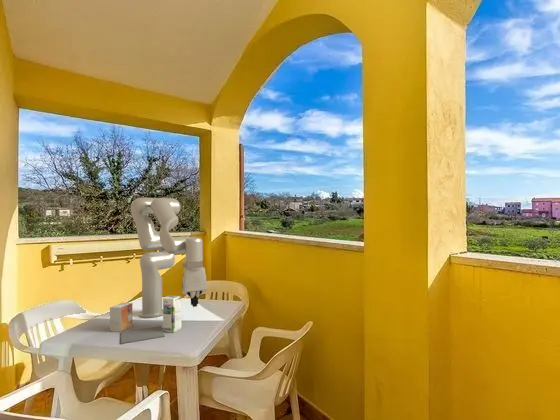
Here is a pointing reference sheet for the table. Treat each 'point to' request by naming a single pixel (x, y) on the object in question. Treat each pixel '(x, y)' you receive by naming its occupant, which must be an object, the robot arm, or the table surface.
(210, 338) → the table surface
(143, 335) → the mat
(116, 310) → the small box
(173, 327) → the syrup box
